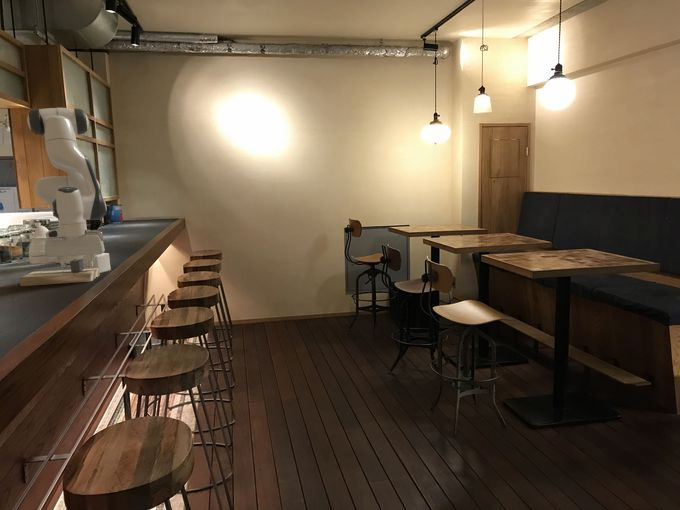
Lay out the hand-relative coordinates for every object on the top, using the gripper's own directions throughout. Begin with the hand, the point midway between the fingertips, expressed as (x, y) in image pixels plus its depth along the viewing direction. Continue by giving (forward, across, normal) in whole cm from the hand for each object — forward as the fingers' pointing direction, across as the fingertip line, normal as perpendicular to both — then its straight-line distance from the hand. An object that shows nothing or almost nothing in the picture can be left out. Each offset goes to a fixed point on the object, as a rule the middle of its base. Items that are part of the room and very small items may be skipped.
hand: (77, 267), depth 193 cm
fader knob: (+1, 0, 0) cm, 1 cm away
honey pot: (+5, +30, -51) cm, 59 cm away
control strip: (+5, +6, 0) cm, 8 cm away
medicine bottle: (+5, -3, -14) cm, 15 cm away
